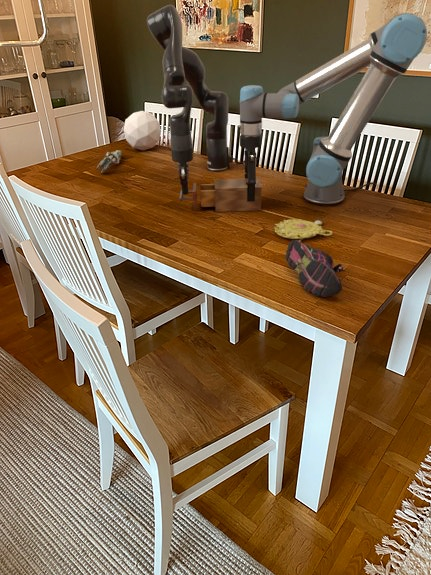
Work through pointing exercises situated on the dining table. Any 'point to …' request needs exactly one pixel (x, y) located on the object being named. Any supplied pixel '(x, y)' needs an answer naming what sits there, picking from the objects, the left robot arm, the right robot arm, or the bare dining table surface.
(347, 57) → the right robot arm
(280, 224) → the decorative object
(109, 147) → the dining table surface
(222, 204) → the wooden drawer box
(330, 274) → the athletic shoe
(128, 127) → the sphere
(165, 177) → the dining table surface
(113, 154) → the figurine
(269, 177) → the dining table surface
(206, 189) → the drawer
